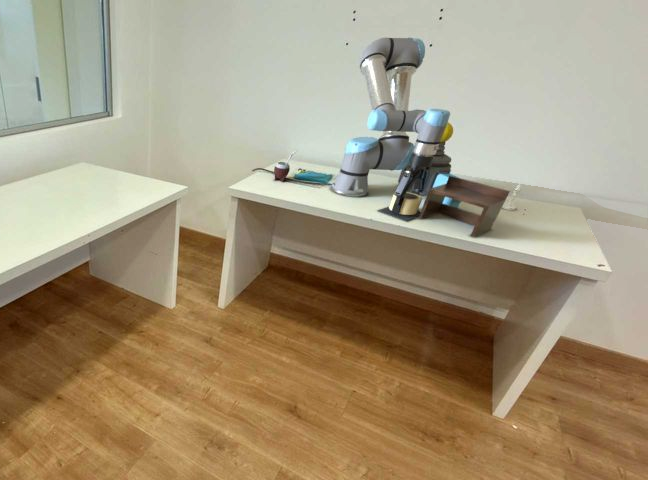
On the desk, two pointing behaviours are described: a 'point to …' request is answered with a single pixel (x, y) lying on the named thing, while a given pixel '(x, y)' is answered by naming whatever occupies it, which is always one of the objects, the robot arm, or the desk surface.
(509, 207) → the chess piece
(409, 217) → the desk mat
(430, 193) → the desk shelf
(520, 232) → the desk surface
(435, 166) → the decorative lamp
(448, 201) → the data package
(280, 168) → the mate gourd
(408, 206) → the tape roll
